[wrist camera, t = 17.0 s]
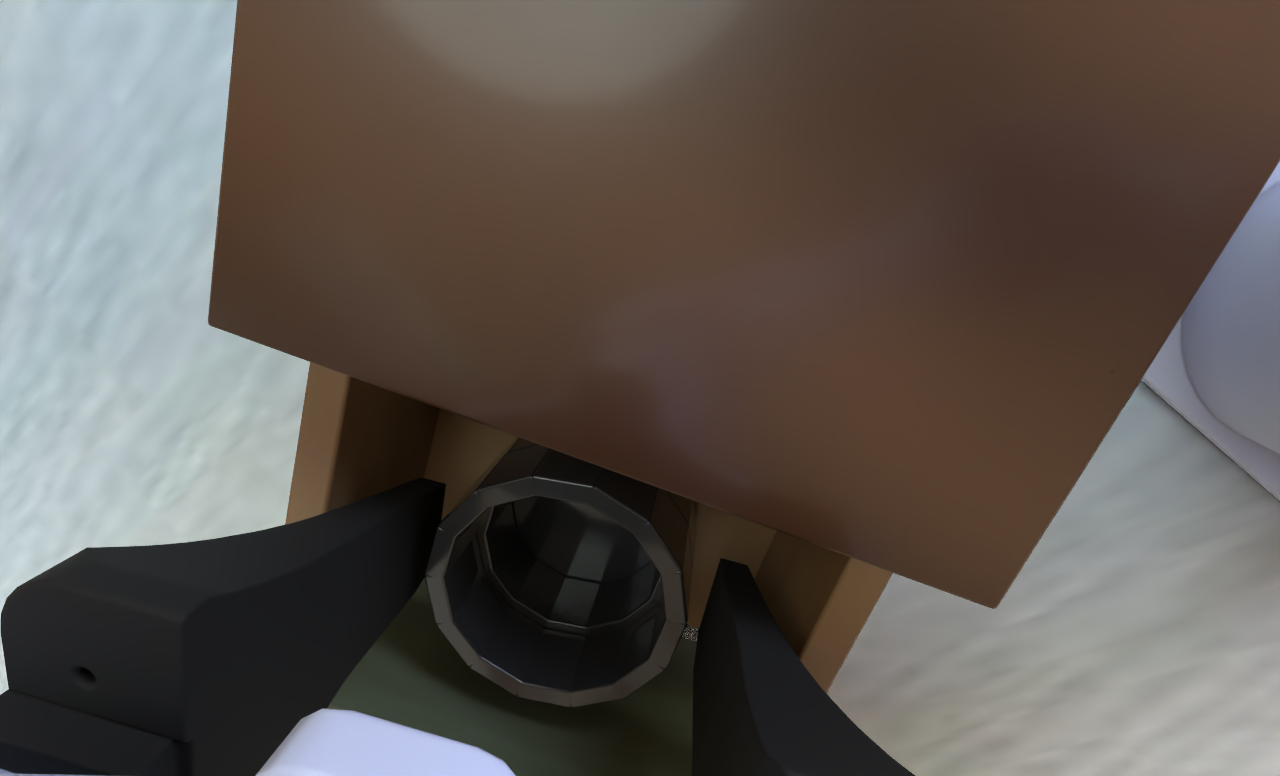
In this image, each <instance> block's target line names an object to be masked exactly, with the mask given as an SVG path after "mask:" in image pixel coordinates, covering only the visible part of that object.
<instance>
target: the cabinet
mask: <svg viewBox="0 0 1280 776" xmlns="http://www.w3.org/2000/svg"><path fill="white" fill-rule="evenodd" d="M1279 162H1280V0H238V1H237V12H236V23H235V34H234V44H233V55H232V66H231V77H230V88H229V98H228V109H227V120H226V131H225V142H224V152H223V163H222V174H221V185H220V196H219V206H218V217H217V228H216V239H215V250H214V260H213V271H212V282H211V293H210V304H209V315H208V323H209V325H210V326H213V327H216V328H218V329H221V330H224V331H227V332H229V333H232V334H235V335H238V336H240V337H243V338H246V339H249V340H251V341H254V342H257V343H260V344H263V345H265V346H268V347H271V348H274V349H276V350H279V351H282V352H285V353H287V354H290V355H293V356H296V357H298V358H301V359H304V360H307V361H310V362H312V363H315V364H318V365H321V366H323V367H326V368H329V369H332V370H334V371H337V372H340V373H343V374H345V375H348V376H351V377H354V378H356V379H359V380H362V381H365V382H368V383H370V384H373V385H376V386H379V387H381V388H384V389H387V390H390V391H392V392H395V393H398V394H401V395H403V396H406V397H409V398H412V399H415V400H417V401H420V402H423V403H426V404H428V405H431V406H434V407H437V408H439V409H442V410H445V411H448V412H450V413H453V414H456V415H459V416H461V417H464V418H467V419H470V420H473V421H475V422H478V423H481V424H484V425H486V426H489V427H492V428H495V429H497V430H500V431H503V432H506V433H508V434H511V435H514V436H517V437H520V438H522V439H525V440H528V441H531V442H533V443H536V444H539V445H542V446H544V447H547V448H550V449H553V450H555V451H558V452H561V453H564V454H566V455H569V456H572V457H575V458H578V459H580V460H583V461H586V462H589V463H591V464H594V465H597V466H600V467H602V468H605V469H608V470H611V471H613V472H616V473H619V474H622V475H625V476H627V477H630V478H633V479H636V480H638V481H641V482H644V483H647V484H649V485H652V486H655V487H658V488H660V489H663V490H666V491H669V492H671V493H674V494H677V495H680V496H683V497H685V498H688V499H691V500H694V501H696V502H699V503H702V504H705V505H707V506H710V507H713V508H716V509H718V510H721V511H724V512H727V513H730V514H732V515H735V516H738V517H741V518H743V519H746V520H749V521H752V522H754V523H757V524H760V525H763V526H765V527H768V528H771V529H774V530H776V531H779V532H782V533H785V534H788V535H790V536H793V537H796V538H799V539H801V540H804V541H807V542H810V543H812V544H815V545H818V546H821V547H823V548H826V549H829V550H832V551H835V552H837V553H840V554H843V555H846V556H848V557H851V558H854V559H857V560H859V561H862V562H865V563H868V564H870V565H873V566H876V567H879V568H881V569H884V570H887V571H890V572H893V573H895V574H898V575H901V576H904V577H906V578H909V579H912V580H915V581H917V582H920V583H923V584H926V585H928V586H931V587H934V588H937V589H940V590H942V591H945V592H948V593H951V594H953V595H956V596H959V597H962V598H964V599H967V600H970V601H973V602H975V603H978V604H981V605H984V606H986V607H989V608H992V609H995V608H996V607H997V606H998V605H999V603H1000V602H1001V600H1002V599H1003V597H1004V595H1005V594H1006V592H1007V591H1008V589H1009V588H1010V586H1011V584H1012V583H1013V581H1014V580H1015V578H1016V576H1017V575H1018V573H1019V572H1020V570H1021V569H1022V567H1023V565H1024V564H1025V562H1026V561H1027V559H1028V558H1029V556H1030V554H1031V553H1032V551H1033V550H1034V548H1035V547H1036V545H1037V543H1038V542H1039V540H1040V539H1041V537H1042V535H1043V534H1044V532H1045V531H1046V529H1047V528H1048V526H1049V524H1050V523H1051V521H1052V520H1053V518H1054V517H1055V515H1056V513H1057V512H1058V510H1059V509H1060V507H1061V506H1062V504H1063V502H1064V501H1065V499H1066V498H1067V496H1068V494H1069V493H1070V491H1071V490H1072V488H1073V487H1074V485H1075V483H1076V482H1077V480H1078V479H1079V477H1080V476H1081V474H1082V472H1083V471H1084V469H1085V468H1086V466H1087V465H1088V463H1089V461H1090V460H1091V458H1092V457H1093V455H1094V453H1095V452H1096V450H1097V449H1098V447H1099V446H1100V444H1101V442H1102V441H1103V439H1104V438H1105V436H1106V435H1107V433H1108V431H1109V430H1110V428H1111V427H1112V425H1113V424H1114V422H1115V420H1116V419H1117V417H1118V416H1119V414H1120V412H1121V411H1122V409H1123V408H1124V406H1125V405H1126V403H1127V401H1128V400H1129V398H1130V397H1131V395H1132V394H1133V392H1134V390H1135V389H1136V387H1137V386H1138V384H1139V383H1140V381H1141V379H1142V378H1143V376H1144V375H1145V373H1146V371H1147V370H1148V368H1149V367H1150V365H1151V364H1152V362H1153V360H1154V359H1155V357H1156V356H1157V354H1158V353H1159V351H1160V349H1161V348H1162V346H1163V345H1164V343H1165V342H1166V340H1167V338H1168V337H1169V335H1170V334H1171V332H1172V330H1173V329H1174V327H1175V326H1176V324H1177V323H1178V321H1179V319H1180V318H1181V316H1182V315H1183V313H1184V312H1185V310H1186V308H1187V307H1188V305H1189V304H1190V302H1191V301H1192V299H1193V297H1194V296H1195V294H1196V293H1197V291H1198V289H1199V288H1200V286H1201V285H1202V283H1203V282H1204V280H1205V278H1206V277H1207V275H1208V274H1209V272H1210V271H1211V269H1212V267H1213V266H1214V264H1215V263H1216V261H1217V260H1218V258H1219V256H1220V255H1221V253H1222V252H1223V250H1224V248H1225V247H1226V245H1227V244H1228V242H1229V241H1230V239H1231V237H1232V236H1233V234H1234V233H1235V231H1236V230H1237V228H1238V226H1239V225H1240V223H1241V222H1242V220H1243V219H1244V217H1245V215H1246V214H1247V212H1248V211H1249V209H1250V207H1251V206H1252V204H1253V203H1254V201H1255V200H1256V198H1257V196H1258V195H1259V193H1260V192H1261V190H1262V189H1263V187H1264V185H1265V184H1266V182H1267V181H1268V179H1269V178H1270V176H1271V174H1272V173H1273V171H1274V170H1275V168H1276V166H1277V165H1278V163H1279Z"/></svg>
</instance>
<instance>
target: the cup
mask: <svg viewBox="0 0 1280 776" xmlns="http://www.w3.org/2000/svg"><path fill="white" fill-rule="evenodd" d="M696 533H697V528H696V516H695V505H694V500H691V499H688V498H685V497H683V496H680V495H677V494H674V493H671V492H669V491H666V490H663V489H660V488H658V487H655V486H652V485H649V484H647V483H644V482H641V481H638V480H636V479H633V478H630V477H627V476H625V475H622V474H619V473H616V472H613V471H611V470H608V469H605V468H602V467H600V466H597V465H594V464H591V463H589V462H586V461H583V460H580V459H578V458H575V457H572V456H569V455H566V454H564V453H561V452H558V451H555V450H553V449H550V448H547V447H544V446H542V445H539V444H536V443H533V442H531V441H528V440H525V439H522V438H520V437H517V438H515V439H514V440H513V441H512V442H511V443H510V444H509V445H508V446H507V447H506V448H505V449H504V450H503V451H502V452H501V453H500V454H499V455H498V456H497V457H496V458H495V460H494V461H493V462H492V463H491V464H490V465H489V467H488V468H487V469H486V470H485V471H484V472H483V474H482V475H481V476H480V477H479V478H478V479H477V481H476V482H475V483H474V484H473V485H472V486H471V487H470V489H469V490H468V491H467V492H466V493H465V494H464V496H463V497H462V498H461V499H460V500H459V501H458V503H457V504H456V505H455V506H454V507H453V508H452V509H451V511H450V512H449V513H448V514H447V515H446V516H445V518H444V519H443V520H442V521H441V522H440V523H439V526H438V527H437V529H436V533H435V536H434V540H433V543H432V547H431V551H430V554H429V558H428V561H427V565H426V568H425V581H426V585H427V589H428V594H429V598H430V602H431V607H432V611H433V615H434V619H435V623H436V624H437V627H438V628H439V629H440V631H441V632H442V633H443V635H444V636H445V637H446V639H447V640H448V641H449V642H450V644H451V645H452V646H453V648H454V649H455V650H456V652H457V653H458V654H459V656H460V657H461V658H462V659H463V661H464V662H465V663H466V665H467V666H470V668H471V669H472V670H474V671H475V672H477V673H478V674H480V675H482V676H483V677H485V678H487V679H488V680H490V681H491V682H493V683H495V684H496V685H498V686H500V687H501V688H503V689H505V690H506V691H508V692H509V693H511V694H513V695H514V696H517V697H520V698H524V699H529V700H534V701H539V702H544V703H549V704H554V705H558V706H563V707H568V708H570V707H572V708H575V707H581V706H586V705H592V704H598V703H604V702H609V701H615V700H621V699H623V698H626V697H628V696H629V695H630V694H632V693H633V692H635V691H636V690H638V689H639V688H640V687H642V686H643V685H645V684H646V683H648V682H649V681H650V680H652V679H653V678H655V677H656V676H658V675H659V674H660V673H662V672H663V671H664V670H665V669H666V668H667V667H668V665H669V662H670V660H671V658H672V656H673V654H674V652H675V650H676V648H677V645H678V643H679V641H680V639H681V637H682V635H683V633H684V631H685V628H686V626H687V621H688V612H689V603H690V593H691V583H692V573H693V562H694V552H695V542H696Z"/></svg>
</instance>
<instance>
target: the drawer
mask: <svg viewBox="0 0 1280 776" xmlns="http://www.w3.org/2000/svg"><path fill="white" fill-rule="evenodd" d="M515 438H517V436H514V435H511V434H508V433H506V432H503V431H500V430H497V429H495V428H492V427H489V426H486V425H484V424H481V423H478V422H475V421H473V420H470V419H467V418H464V417H461V416H459V415H456V414H453V413H450V412H448V411H445V410H442V409H439V408H437V407H434V406H431V405H428V404H426V403H423V402H420V401H417V400H415V399H412V398H409V397H406V396H403V395H401V394H398V393H395V392H392V391H390V390H387V389H384V388H381V387H379V386H376V385H373V384H370V383H368V382H365V381H362V380H359V379H356V378H354V377H351V376H348V375H345V374H343V373H340V372H337V371H334V370H332V369H329V368H326V367H323V366H321V365H318V364H315V363H312V362H310V367H309V373H308V380H307V386H306V393H305V399H304V406H303V412H302V419H301V426H300V432H299V439H298V445H297V452H296V458H295V465H294V471H293V478H292V484H291V491H290V497H289V504H288V510H287V517H286V523H285V525H286V524H290V523H294V522H297V521H301V520H304V519H308V518H311V517H314V516H317V515H320V514H323V513H326V512H329V511H332V510H335V509H338V508H341V507H344V506H347V505H349V504H352V503H355V502H357V501H360V500H363V499H365V498H368V497H370V496H373V495H376V494H378V493H381V492H383V491H386V490H388V489H391V488H393V487H396V486H398V485H401V484H404V483H406V482H409V481H412V480H414V479H418V478H421V477H422V478H426V479H430V480H433V481H437V482H441V483H445V484H446V488H445V496H444V503H443V511H442V519H441V521H442V520H443V519H444V518H445V516H446V515H447V514H448V513H449V512H450V511H451V509H452V508H453V507H454V506H455V505H456V504H457V503H458V501H459V500H460V499H461V498H462V497H463V496H464V494H465V493H466V492H467V491H468V490H469V489H470V487H471V486H472V485H473V484H474V483H475V482H476V481H477V479H478V478H479V477H480V476H481V475H482V474H483V472H484V471H485V470H486V469H487V468H488V467H489V465H490V464H491V463H492V462H493V461H494V460H495V458H496V457H497V456H498V455H499V454H500V453H501V452H502V451H503V450H504V449H505V448H506V447H507V446H508V445H509V444H510V443H511V442H512V441H513V440H514V439H515ZM694 505H695V516H696V528H697V533H696V542H695V552H694V562H693V573H692V583H691V593H690V603H689V612H688V621H687V625H690V626H692V627H695V628H698V629H699V627H700V624H701V621H702V617H703V614H704V611H705V608H706V604H707V601H708V598H709V595H710V591H711V588H712V585H713V581H714V578H715V575H716V572H717V568H718V565H719V562H720V558H723V559H727V560H730V561H734V562H738V563H742V564H745V565H747V566H748V568H749V569H750V571H751V573H752V576H753V578H754V580H755V582H756V584H757V586H758V588H759V590H760V592H761V594H762V596H763V598H764V600H765V602H766V604H767V606H768V608H769V610H770V612H771V614H772V615H773V617H774V619H775V621H776V623H777V624H778V626H779V628H780V630H781V632H782V633H783V635H784V637H785V638H786V640H787V641H788V643H789V644H790V646H791V647H792V649H793V651H794V652H795V654H796V655H797V657H798V658H799V659H800V661H801V662H802V664H803V665H804V666H805V668H806V669H807V670H808V671H809V673H810V674H811V675H812V677H813V678H814V679H815V680H816V682H817V683H818V684H819V685H820V687H821V688H822V689H823V690H824V691H825V693H827V691H828V689H829V688H830V686H831V684H832V682H833V680H834V678H835V677H836V675H837V673H838V671H839V669H840V668H841V666H842V664H843V662H844V660H845V659H846V657H847V655H848V653H849V651H850V650H851V648H852V646H853V644H854V642H855V640H856V639H857V637H858V635H859V633H860V631H861V630H862V628H863V626H864V624H865V622H866V621H867V619H868V617H869V615H870V613H871V611H872V610H873V608H874V606H875V604H876V602H877V601H878V599H879V597H880V595H881V593H882V592H883V590H884V588H885V586H886V584H887V583H888V581H889V579H890V577H891V575H892V573H893V572H890V571H887V570H884V569H881V568H879V567H876V566H873V565H870V564H868V563H865V562H862V561H859V560H857V559H854V558H851V557H848V556H846V555H843V554H840V553H837V552H835V551H832V550H829V549H826V548H823V547H821V546H818V545H815V544H812V543H810V542H807V541H804V540H801V539H799V538H796V537H793V536H790V535H788V534H785V533H782V532H779V531H776V530H774V529H771V528H768V527H765V526H763V525H760V524H757V523H754V522H752V521H749V520H746V519H743V518H741V517H738V516H735V515H732V514H730V513H727V512H724V511H721V510H718V509H716V508H713V507H710V506H707V505H705V504H702V503H699V502H696V501H694ZM696 646H697V642H694V641H691V640H688V639H686V638H683V637H681V639H680V641H679V643H678V645H677V648H676V650H675V652H674V654H673V656H672V658H671V660H670V662H669V665H668V667H667V668H666V669H665V670H664V671H663V672H662V673H660V674H659V675H658V676H656V677H655V678H653V679H652V680H650V681H649V682H648V683H646V684H645V685H643V686H642V687H640V688H639V689H638V690H636V691H635V692H633V693H632V694H630V695H629V696H628V697H626V698H623V699H621V700H615V701H609V702H604V703H598V704H592V705H586V706H581V707H575V708H572V707H570V708H568V707H563V706H558V705H554V704H549V703H544V702H539V701H534V700H529V699H524V698H520V697H517V696H514V695H513V694H511V693H509V692H508V691H506V690H505V689H503V688H501V687H500V686H498V685H496V684H495V683H493V682H491V681H490V680H488V679H487V678H485V677H483V676H482V675H480V674H478V673H477V672H475V671H474V670H472V669H471V668H470V666H467V665H466V663H465V662H464V661H463V659H462V658H461V657H460V656H459V654H458V653H457V652H456V650H455V649H454V648H453V646H452V645H451V644H450V642H449V641H448V640H447V639H446V637H445V636H444V635H443V633H442V632H441V631H440V629H439V628H438V627H437V624H436V623H435V619H434V615H433V611H432V607H431V602H430V598H429V594H428V589H427V585H426V581H425V578H424V579H423V581H422V583H421V584H420V586H419V587H418V589H417V591H416V592H415V593H414V595H413V596H412V597H411V599H410V600H409V601H408V602H407V604H406V605H405V606H404V607H403V609H402V610H401V611H400V612H399V614H398V615H397V616H396V617H395V619H394V620H393V621H392V622H391V624H390V625H389V626H388V627H387V629H386V630H385V631H384V632H383V633H382V635H381V636H380V637H379V638H378V640H377V641H376V642H375V643H374V645H373V646H372V647H371V648H370V649H369V651H368V652H367V653H366V654H365V656H364V657H363V658H362V659H361V661H360V662H359V663H358V664H357V665H356V667H355V668H354V670H353V671H352V672H351V674H350V675H349V676H348V678H347V679H346V680H345V682H344V683H343V685H342V686H341V688H340V689H339V691H338V692H337V694H336V695H335V697H334V698H333V700H332V701H331V703H330V704H329V706H328V708H327V709H340V710H353V711H357V712H361V713H364V714H367V715H371V716H374V717H377V718H381V719H384V720H388V721H391V722H394V723H398V724H401V725H405V726H408V727H411V728H415V729H418V730H421V731H425V732H428V733H432V734H435V735H438V736H442V737H445V738H448V739H452V740H455V741H459V742H462V743H465V744H469V745H472V746H476V747H479V748H481V749H483V750H484V751H486V752H488V753H490V754H492V755H494V756H496V757H498V758H500V759H502V760H503V761H504V762H505V763H506V764H507V766H508V767H509V768H510V769H511V771H512V772H513V773H514V774H515V776H691V775H692V726H693V668H694V661H695V653H696Z"/></svg>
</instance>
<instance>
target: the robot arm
mask: <svg viewBox="0 0 1280 776" xmlns="http://www.w3.org/2000/svg"><path fill="white" fill-rule="evenodd" d="M1141 380H1142V381H1143V382H1144V383H1145V384H1146V385H1148V386H1149V387H1150V388H1151V389H1152V390H1153V391H1154V392H1156V393H1157V394H1158V395H1159V396H1160V397H1161V398H1162V399H1164V400H1165V401H1166V402H1167V403H1168V404H1169V405H1170V406H1172V407H1173V408H1174V409H1175V410H1176V411H1177V412H1178V413H1180V414H1181V415H1182V416H1183V417H1184V418H1185V419H1186V420H1188V421H1189V422H1190V423H1191V424H1192V425H1193V426H1194V427H1196V428H1197V429H1198V430H1199V431H1200V432H1201V433H1202V434H1204V435H1205V436H1206V437H1207V438H1208V439H1209V440H1210V441H1212V442H1213V443H1214V444H1215V445H1216V446H1217V447H1218V448H1220V449H1221V450H1222V451H1223V452H1224V453H1225V454H1226V455H1228V456H1229V457H1230V458H1231V459H1232V460H1233V461H1234V462H1236V463H1237V464H1238V465H1239V466H1240V467H1241V468H1242V469H1244V470H1245V471H1246V472H1247V473H1248V474H1249V475H1250V476H1252V477H1253V478H1254V479H1255V480H1256V481H1257V482H1258V483H1259V484H1261V485H1262V486H1263V487H1264V488H1265V489H1266V490H1267V491H1269V492H1270V493H1271V494H1272V495H1273V496H1274V497H1275V498H1277V499H1278V500H1279V501H1280V162H1279V163H1278V165H1277V166H1276V168H1275V170H1274V171H1273V173H1272V174H1271V176H1270V178H1269V179H1268V181H1267V182H1266V184H1265V185H1264V187H1263V189H1262V190H1261V192H1260V193H1259V195H1258V196H1257V198H1256V200H1255V201H1254V203H1253V204H1252V206H1251V207H1250V209H1249V211H1248V212H1247V214H1246V215H1245V217H1244V219H1243V220H1242V222H1241V223H1240V225H1239V226H1238V228H1237V230H1236V231H1235V233H1234V234H1233V236H1232V237H1231V239H1230V241H1229V242H1228V244H1227V245H1226V247H1225V248H1224V250H1223V252H1222V253H1221V255H1220V256H1219V258H1218V260H1217V261H1216V263H1215V264H1214V266H1213V267H1212V269H1211V271H1210V272H1209V274H1208V275H1207V277H1206V278H1205V280H1204V282H1203V283H1202V285H1201V286H1200V288H1199V289H1198V291H1197V293H1196V294H1195V296H1194V297H1193V299H1192V301H1191V302H1190V304H1189V305H1188V307H1187V308H1186V310H1185V312H1184V313H1183V315H1182V316H1181V318H1180V319H1179V321H1178V323H1177V324H1176V326H1175V327H1174V329H1173V330H1172V332H1171V334H1170V335H1169V337H1168V338H1167V340H1166V342H1165V343H1164V345H1163V346H1162V348H1161V349H1160V351H1159V353H1158V354H1157V356H1156V357H1155V359H1154V360H1153V362H1152V364H1151V365H1150V367H1149V368H1148V370H1147V371H1146V373H1145V375H1144V376H1143V378H1142V379H1141ZM445 488H446V484H445V483H441V482H437V481H433V480H430V479H426V478H422V477H421V478H418V479H414V480H412V481H409V482H406V483H404V484H401V485H398V486H396V487H393V488H391V489H388V490H386V491H383V492H381V493H378V494H376V495H373V496H370V497H368V498H365V499H363V500H360V501H357V502H355V503H352V504H349V505H347V506H344V507H341V508H338V509H335V510H332V511H329V512H326V513H323V514H320V515H317V516H314V517H311V518H308V519H304V520H301V521H297V522H294V523H290V524H286V525H282V526H278V527H274V528H270V529H266V530H261V531H256V532H251V533H245V534H240V535H234V536H228V537H223V538H217V539H210V540H203V541H195V542H186V543H176V544H165V545H152V546H130V547H102V548H86V549H84V550H82V551H80V552H79V553H77V554H75V555H73V556H72V557H70V558H68V559H66V560H64V561H63V562H61V563H59V564H57V565H56V566H54V567H52V568H50V569H49V570H47V571H45V572H43V573H42V574H40V575H38V576H36V577H34V578H33V579H31V580H29V581H27V582H26V583H24V584H22V585H20V586H19V587H17V588H16V589H15V590H14V591H13V592H12V593H11V594H10V595H9V596H8V597H7V599H6V602H5V604H4V607H3V610H2V613H1V637H2V644H3V651H4V658H5V665H6V672H7V679H8V686H9V689H8V690H7V691H5V692H4V693H3V694H1V695H0V776H515V774H514V773H513V772H512V771H511V769H510V768H509V767H508V766H507V764H506V763H505V762H504V761H503V760H502V759H500V758H498V757H496V756H494V755H492V754H490V753H488V752H486V751H484V750H483V749H481V748H479V747H476V746H472V745H469V744H465V743H462V742H459V741H455V740H452V739H448V738H445V737H442V736H438V735H435V734H432V733H428V732H425V731H421V730H418V729H415V728H411V727H408V726H405V725H401V724H398V723H394V722H391V721H388V720H384V719H381V718H377V717H374V716H371V715H367V714H364V713H361V712H357V711H353V710H340V709H327V708H328V706H329V704H330V703H331V701H332V700H333V698H334V697H335V695H336V694H337V692H338V691H339V689H340V688H341V686H342V685H343V683H344V682H345V680H346V679H347V678H348V676H349V675H350V674H351V672H352V671H353V670H354V668H355V667H356V665H357V664H358V663H359V662H360V661H361V659H362V658H363V657H364V656H365V654H366V653H367V652H368V651H369V649H370V648H371V647H372V646H373V645H374V643H375V642H376V641H377V640H378V638H379V637H380V636H381V635H382V633H383V632H384V631H385V630H386V629H387V627H388V626H389V625H390V624H391V622H392V621H393V620H394V619H395V617H396V616H397V615H398V614H399V612H400V611H401V610H402V609H403V607H404V606H405V605H406V604H407V602H408V601H409V600H410V599H411V597H412V596H413V595H414V593H415V592H416V591H417V589H418V587H419V586H420V584H421V583H422V581H423V579H424V578H425V568H426V565H427V561H428V558H429V554H430V551H431V547H432V543H433V540H434V536H435V533H436V529H437V527H438V526H439V523H440V522H441V519H442V511H443V503H444V496H445ZM691 776H915V775H913V774H912V773H911V772H910V771H908V770H907V769H906V768H904V767H903V766H902V765H901V764H899V763H898V762H897V761H895V760H894V759H893V758H892V757H890V756H889V755H888V754H887V753H886V752H885V751H884V750H882V749H881V748H880V747H879V746H878V745H877V744H876V743H875V742H873V741H872V740H871V739H870V738H869V737H868V736H867V735H866V734H865V733H864V732H863V731H862V730H860V729H859V728H858V727H857V726H856V725H855V724H854V723H853V722H852V721H851V720H850V719H849V718H848V717H847V715H846V714H845V713H844V712H843V711H842V710H841V709H840V708H839V707H838V706H837V705H836V704H835V703H834V702H833V701H832V699H831V698H830V697H829V696H828V695H827V694H826V693H825V691H824V690H823V689H822V688H821V687H820V685H819V684H818V683H817V682H816V680H815V679H814V678H813V677H812V675H811V674H810V673H809V671H808V670H807V669H806V668H805V666H804V665H803V664H802V662H801V661H800V659H799V658H798V657H797V655H796V654H795V652H794V651H793V649H792V647H791V646H790V644H789V643H788V641H787V640H786V638H785V637H784V635H783V633H782V632H781V630H780V628H779V626H778V624H777V623H776V621H775V619H774V617H773V615H772V614H771V612H770V610H769V608H768V606H767V604H766V602H765V600H764V598H763V596H762V594H761V592H760V590H759V588H758V586H757V584H756V582H755V580H754V578H753V576H752V573H751V571H750V569H749V568H748V566H747V565H745V564H742V563H738V562H734V561H730V560H727V559H723V558H720V562H719V565H718V568H717V572H716V575H715V578H714V581H713V585H712V588H711V591H710V595H709V598H708V601H707V604H706V608H705V611H704V614H703V617H702V621H701V624H700V627H699V631H698V638H697V646H696V653H695V661H694V668H693V726H692V775H691Z"/></svg>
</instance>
